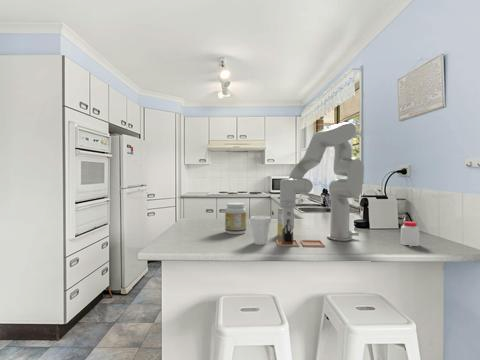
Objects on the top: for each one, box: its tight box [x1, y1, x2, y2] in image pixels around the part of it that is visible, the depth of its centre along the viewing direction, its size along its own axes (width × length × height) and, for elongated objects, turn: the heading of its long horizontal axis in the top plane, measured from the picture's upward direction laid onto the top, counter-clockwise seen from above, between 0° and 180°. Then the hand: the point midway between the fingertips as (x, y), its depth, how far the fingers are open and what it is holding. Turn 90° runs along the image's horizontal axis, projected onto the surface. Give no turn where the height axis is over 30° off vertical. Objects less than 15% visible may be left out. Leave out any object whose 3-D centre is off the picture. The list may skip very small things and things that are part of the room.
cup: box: [249, 215, 272, 246], centre depth 143 cm, size 10×10×13 cm
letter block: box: [281, 230, 294, 244], centre depth 142 cm, size 5×5×6 cm
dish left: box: [299, 239, 326, 248], centre depth 141 cm, size 10×10×1 cm
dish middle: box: [275, 238, 300, 248], centre depth 142 cm, size 10×10×1 cm
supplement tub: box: [224, 201, 247, 235], centre depth 168 cm, size 12×12×17 cm
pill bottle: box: [400, 220, 420, 247], centre depth 143 cm, size 8×8×11 cm
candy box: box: [276, 207, 294, 237], centre depth 162 cm, size 9×4×15 cm, turn 129°
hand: (287, 239), depth 142 cm, fingers open, 8 cm apart
